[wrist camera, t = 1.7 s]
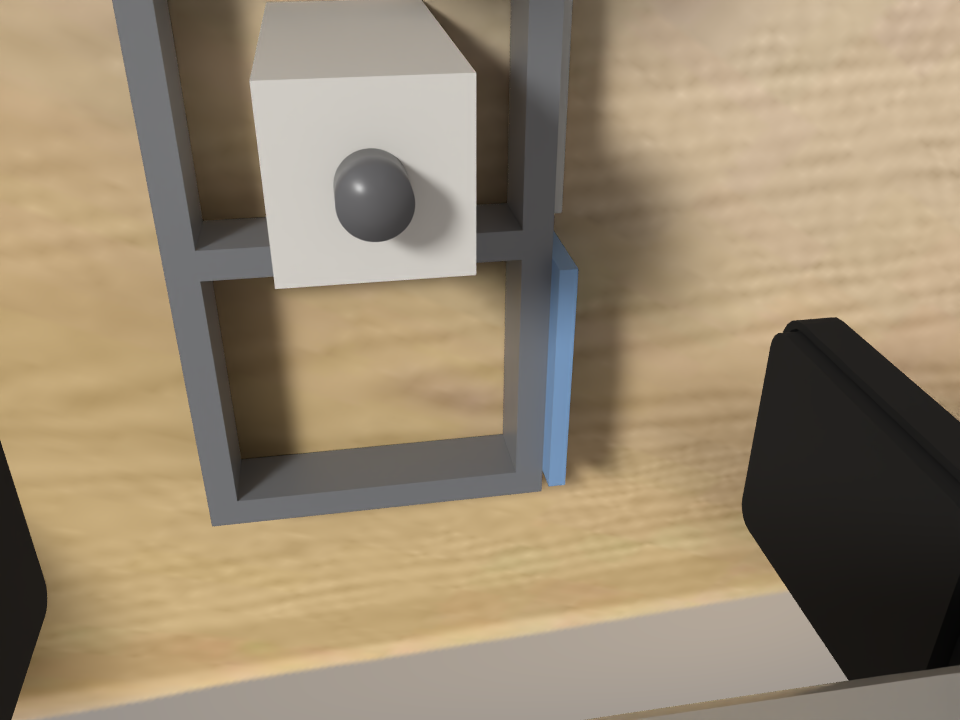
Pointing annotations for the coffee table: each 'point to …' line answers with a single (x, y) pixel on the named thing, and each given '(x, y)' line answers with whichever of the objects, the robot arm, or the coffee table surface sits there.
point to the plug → (364, 143)
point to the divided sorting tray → (246, 254)
